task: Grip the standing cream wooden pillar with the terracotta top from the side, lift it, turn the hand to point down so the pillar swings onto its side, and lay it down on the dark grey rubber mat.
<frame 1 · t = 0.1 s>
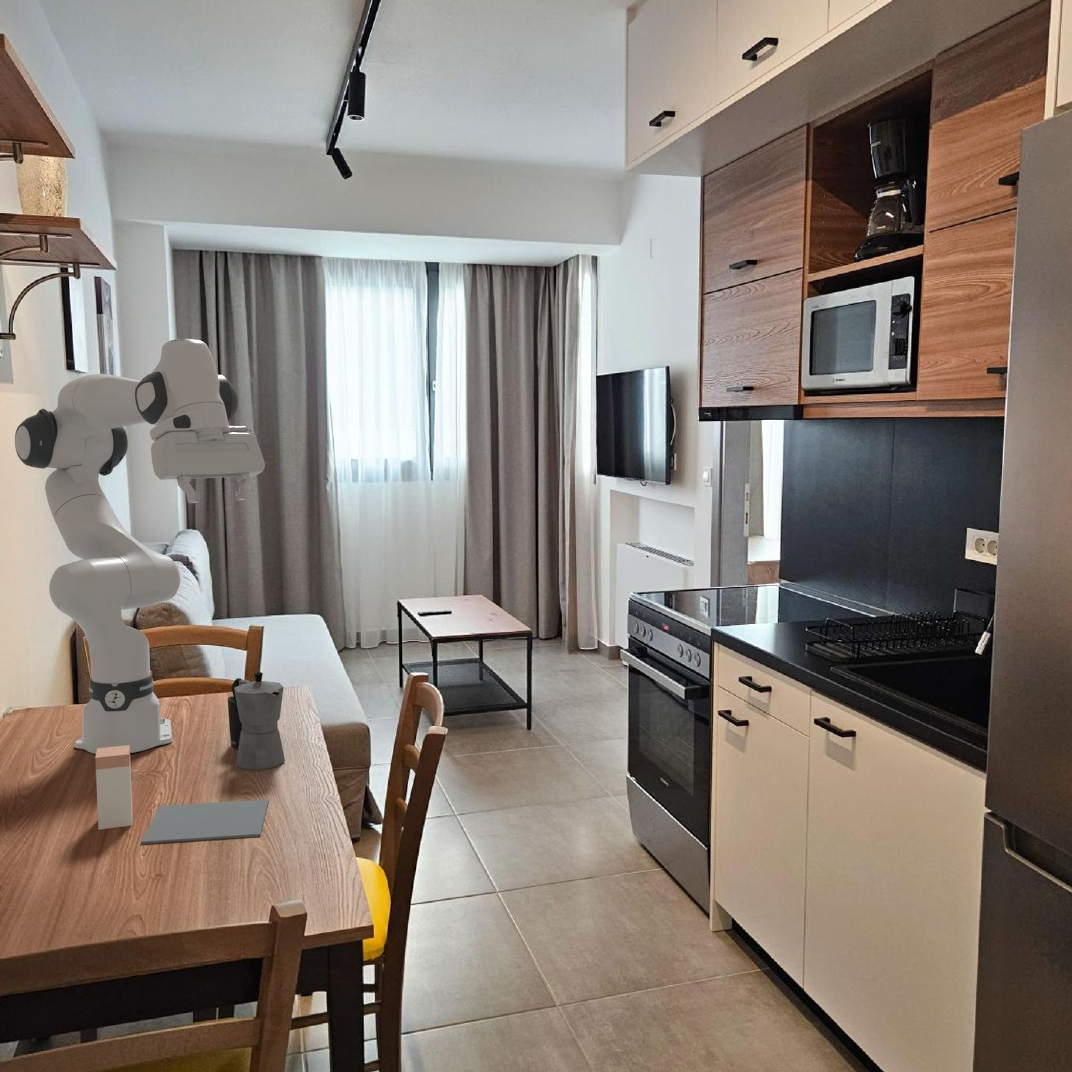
hand: (219, 500, 172), 52 cm above the table, fingers open, 8 cm apart
pillar: (115, 821, 161), on the table
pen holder: (252, 745, 202), on the table
coffeepot: (257, 762, 191), on the table
mat: (208, 821, 162), on the table
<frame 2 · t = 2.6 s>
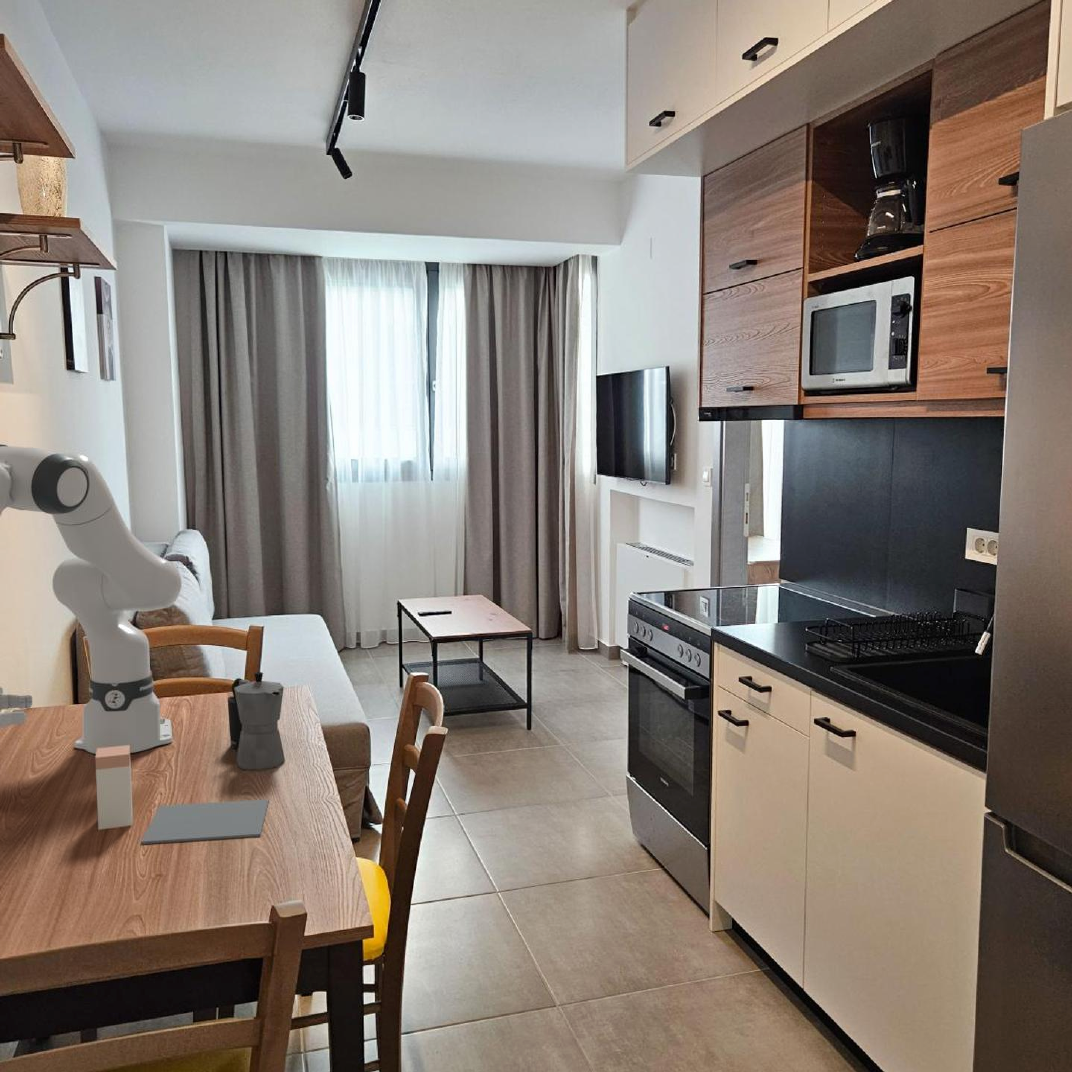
hand: (28, 708, 155), 20 cm above the table, fingers open, 8 cm apart
nothing on the table moved.
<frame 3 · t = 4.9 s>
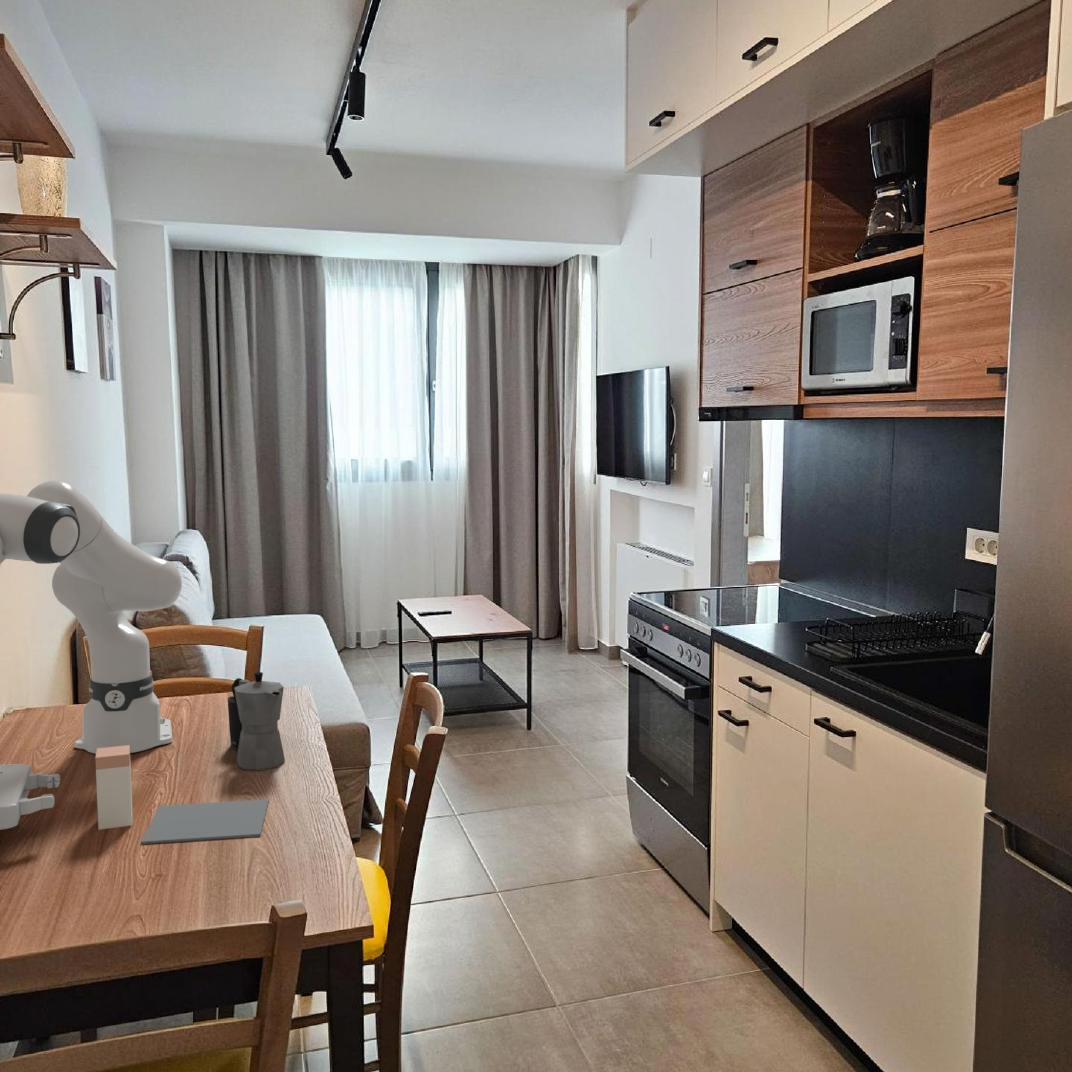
hand: (57, 790, 158), 6 cm above the table, fingers open, 8 cm apart
nothing on the table moved.
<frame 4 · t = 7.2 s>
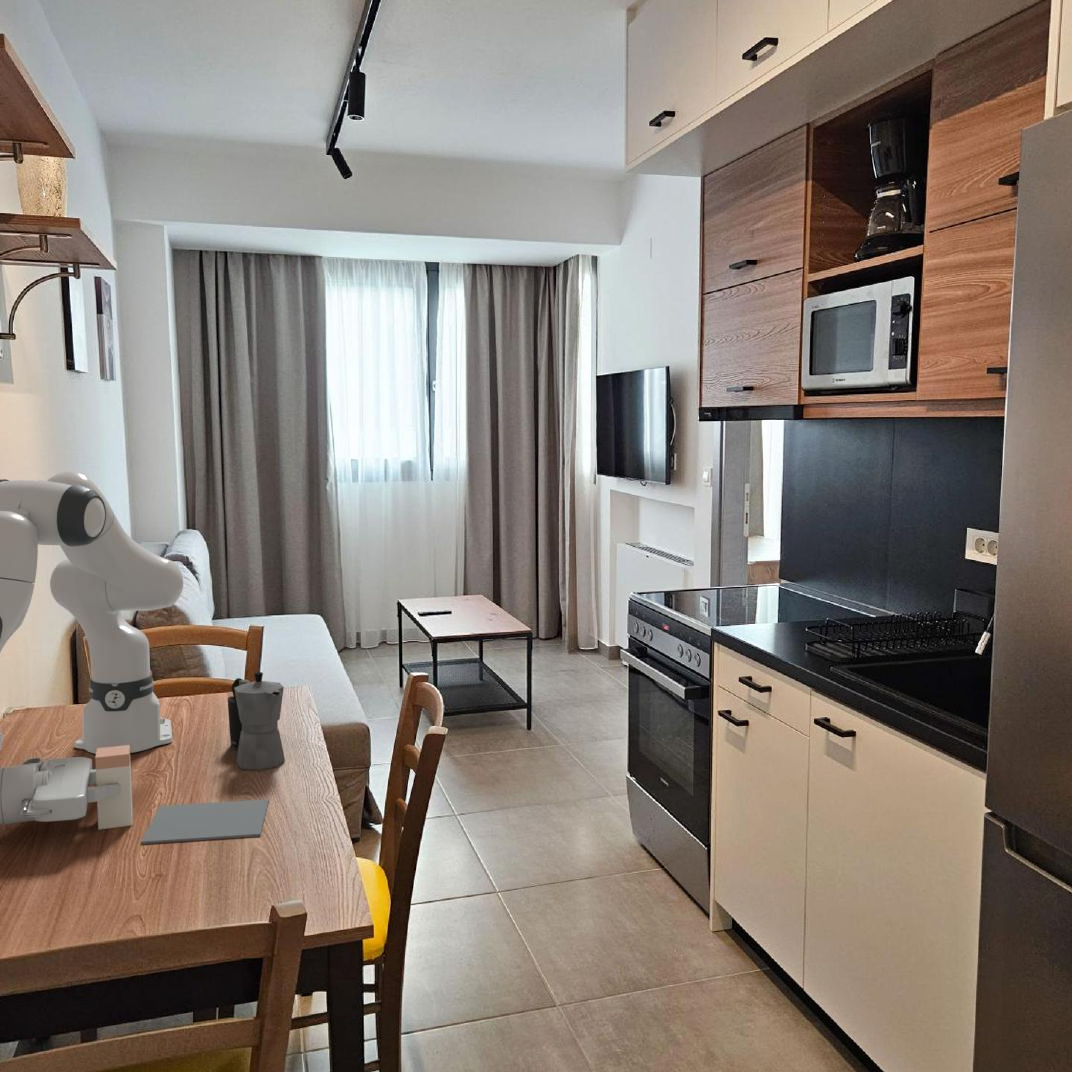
hand: (120, 782, 161), 7 cm above the table, fingers closed on pillar, 5 cm apart
pillar: (115, 821, 161), on the table, touching gripper
everything else where it was.
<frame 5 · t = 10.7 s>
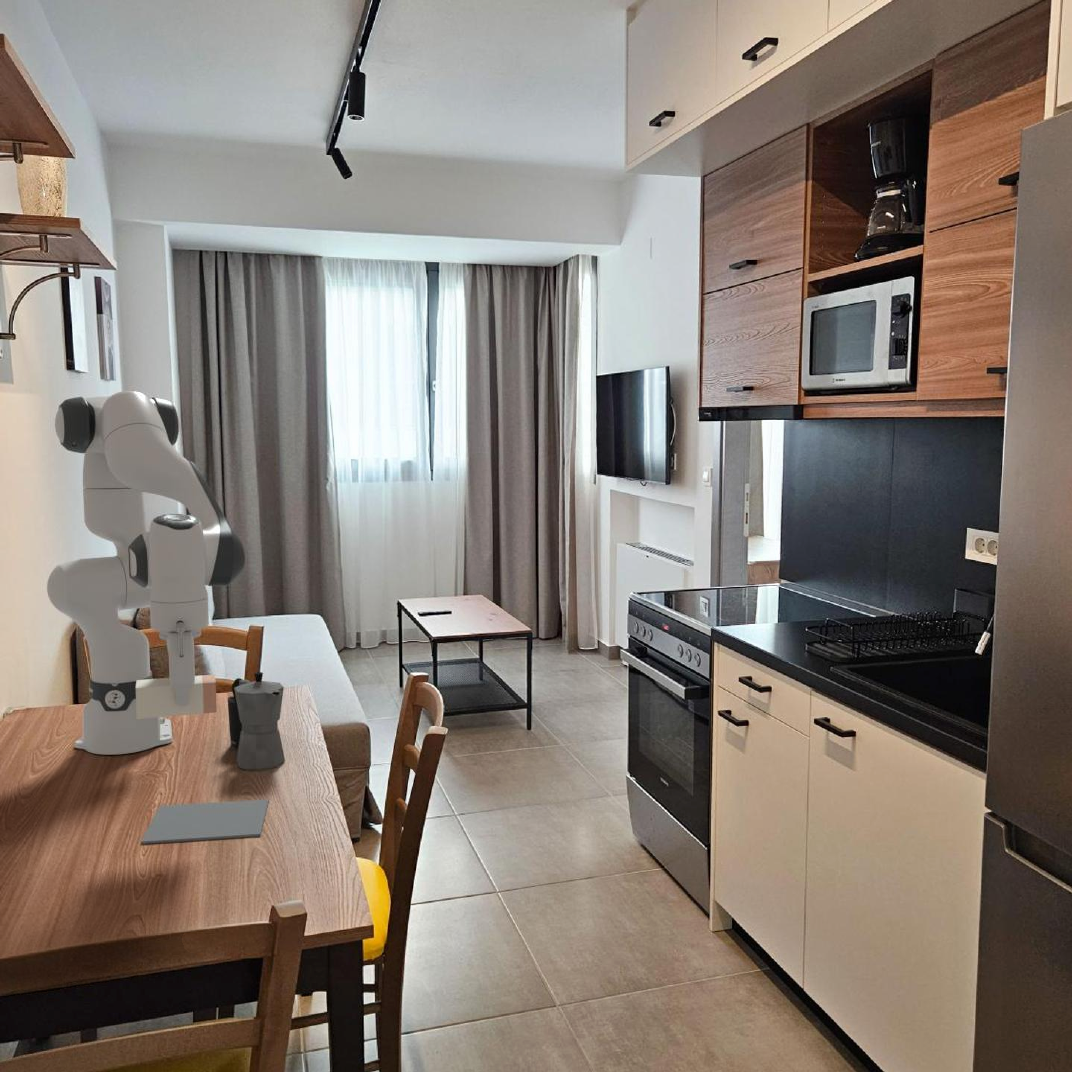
hand: (182, 699, 159), 21 cm above the table, fingers closed on pillar, 5 cm apart
pillar: (136, 699, 156), point 21 cm above the table, tilted 90°, touching gripper
everything else where it was.
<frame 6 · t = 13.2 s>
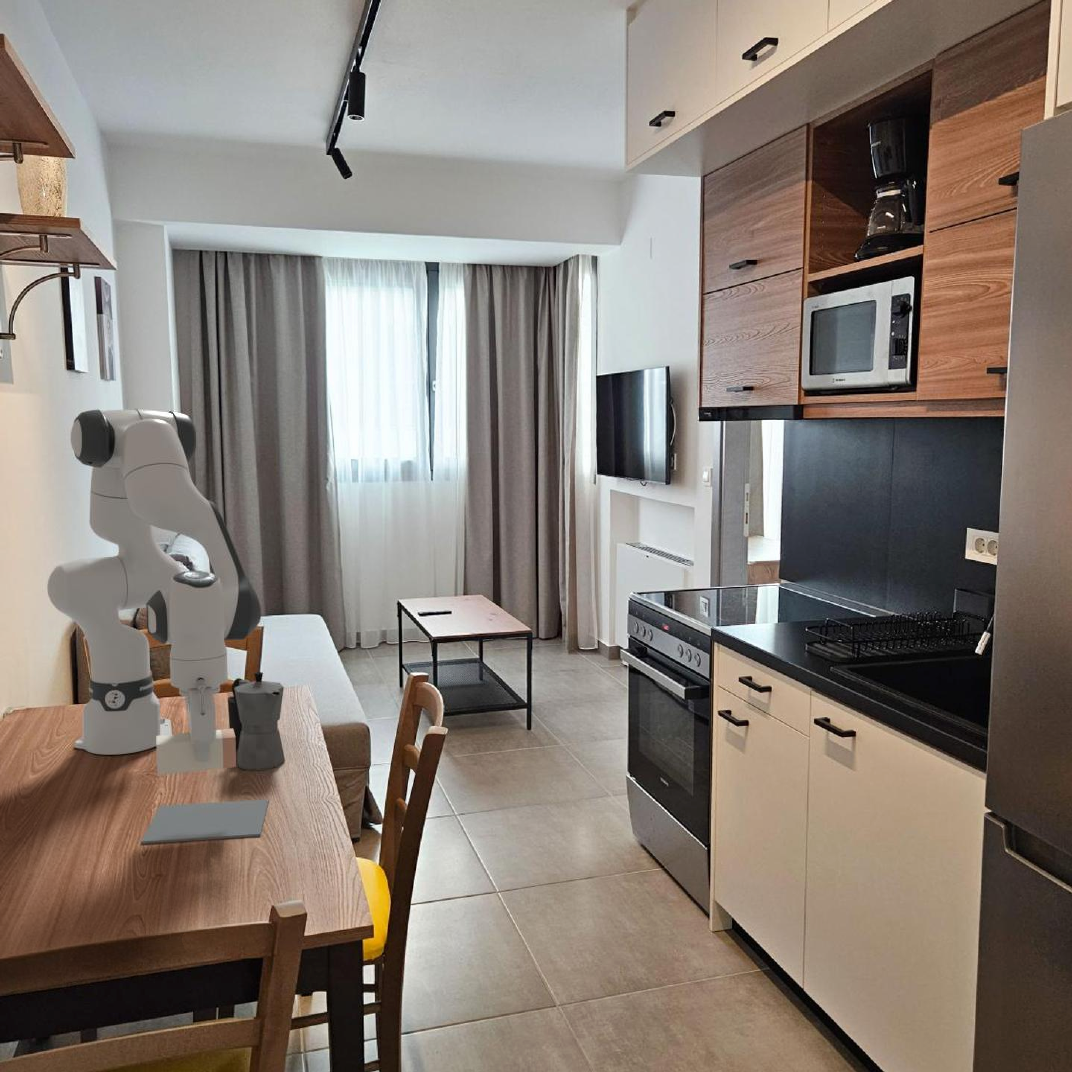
hand: (202, 755, 160), 11 cm above the table, fingers closed on pillar, 5 cm apart
pillar: (156, 755, 158), point 12 cm above the table, tilted 90°, touching gripper
everything else where it was.
when the fingers open (4 cm above the table, at t = 15.1 s): pillar drops 1 cm, resting on mat.
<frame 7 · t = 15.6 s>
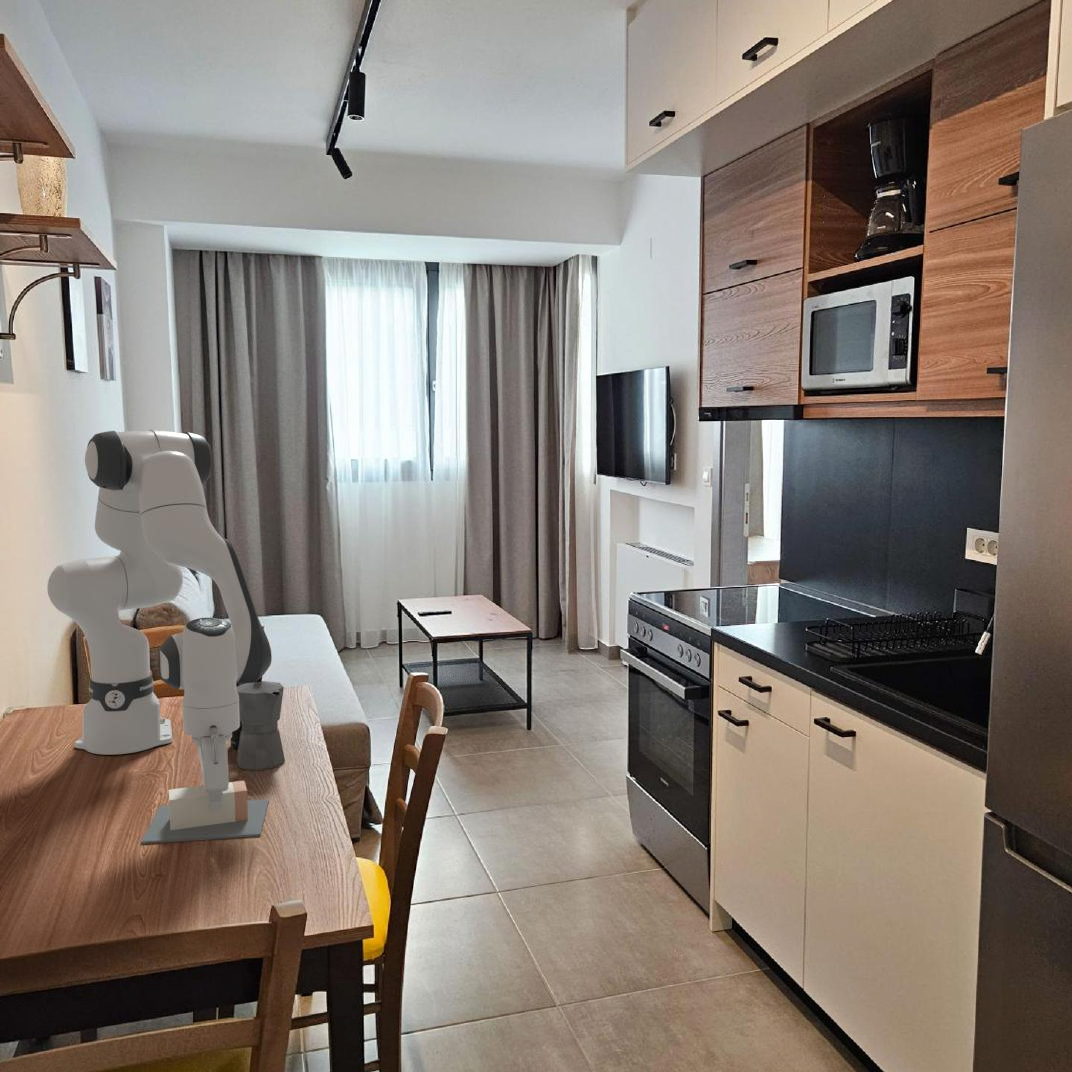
hand: (213, 800, 162), 4 cm above the table, fingers open, 8 cm apart
pillar: (169, 809, 159), point 3 cm above the table, tilted 90°, touching mat
everything else where it was.
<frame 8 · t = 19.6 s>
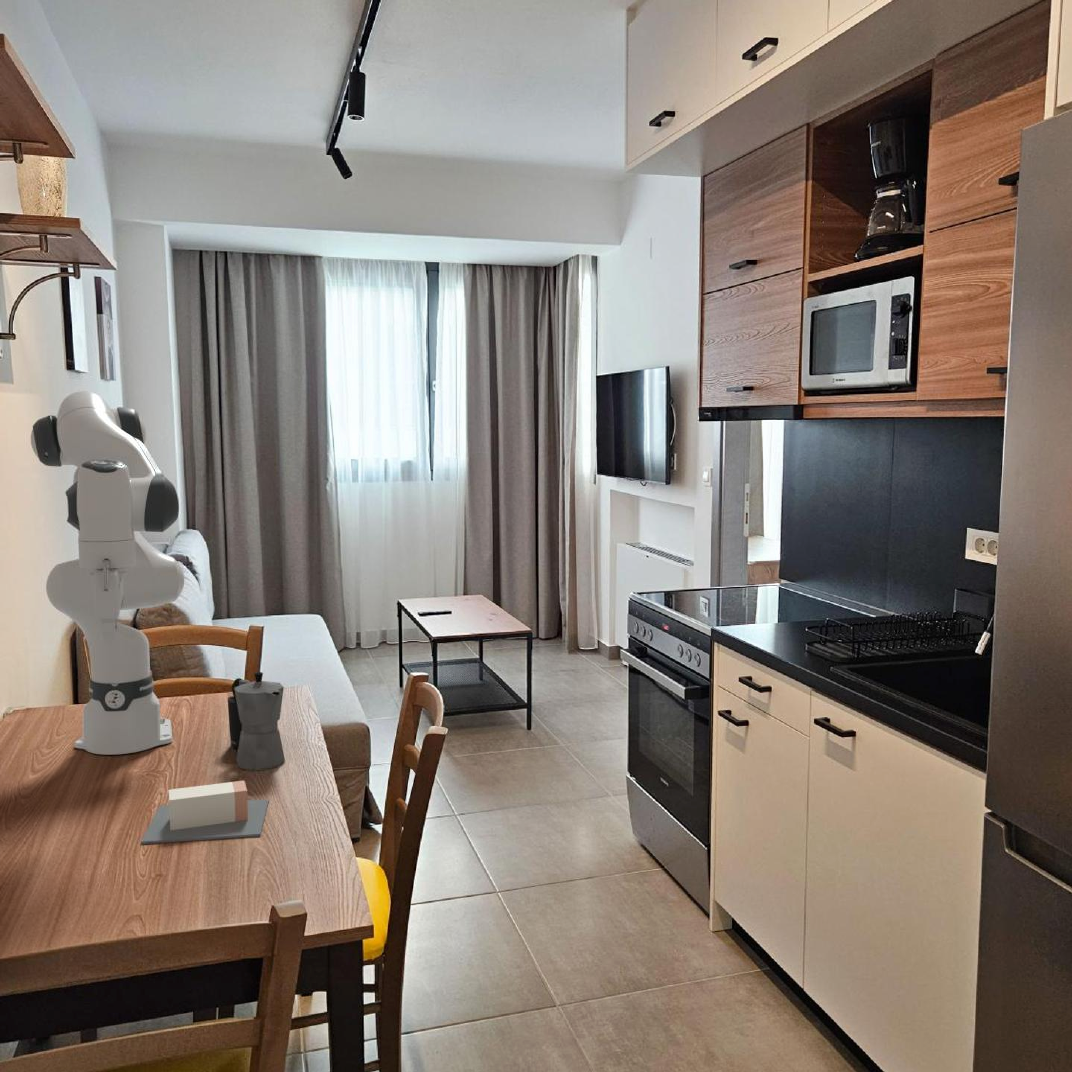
hand: (110, 636, 168), 29 cm above the table, fingers open, 8 cm apart
nothing on the table moved.
at the end: pillar tilted 90°; pillar touching mat; the gripper is holding nothing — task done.
